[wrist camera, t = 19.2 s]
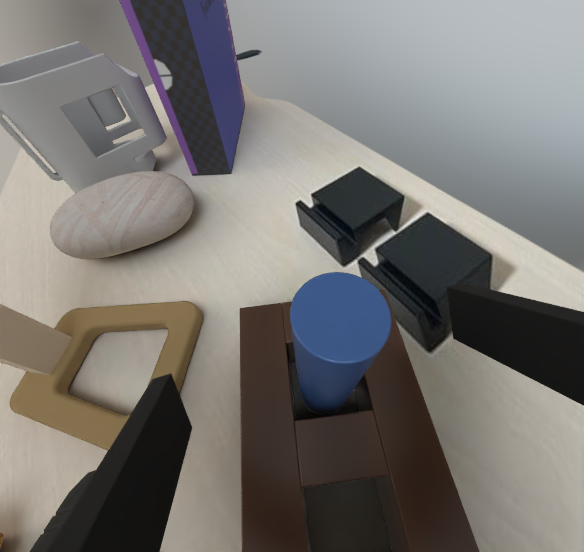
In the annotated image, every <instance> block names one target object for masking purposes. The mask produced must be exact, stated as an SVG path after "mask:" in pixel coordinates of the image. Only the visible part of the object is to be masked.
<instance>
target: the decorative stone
mask: <svg viewBox="0 0 584 552" xmlns="http://www.w3.org/2000/svg"><path fill="white" fill-rule="evenodd" d="M193 208H194V197H193V193H192V191H191V189H190V188H189V186H188V185H187V184H186V183H185V182H184V181H183V180H181V179H180V178H178V177H176V176H174V175H172V174H168V173H164V172H158V171H141V172H134V173H128V174H124V175H120V176H116V177H113V178H109V179H107V180H104V181H101V182H98V183H96V184H94V185H91V186H89V187H87V188H85V189H83V190H81V191H79V192H78V193H76V194H74V195H73V196H72V197H70V198H69V199H68V200H67V201H65V202H64V203H63V204H62V205H61V206H60V207H59V209H58V210H57V211H56V213H55V214H54V216H53V218H52V221H51V224H50V236H51V239H52V241H53V243H54V245H55V246H56V247H57V248H58V249H59V250H60V251H62V252H63V253H65V254H67V255H69V256H72V257H75V258H80V259H98V258H105V257H109V256H114V255H118V254H121V253H124V252H128V251H131V250H134V249H138V248H141V247H144V246H147V245H150V244H152V243H155V242H157V241H160V240H162V239H164V238H166V237H168V236H170V235H172V234H173V233H175V232H176V231H178V230H179V229H180V228H181V227H182V226H183V225H184V224H185V223H186V222H187V221H188V219H189V218H190V216H191V214H192V212H193Z"/></svg>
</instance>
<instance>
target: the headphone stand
mask: <svg viewBox="0 0 584 552" xmlns="http://www.w3.org/2000/svg"><path fill="white" fill-rule="evenodd" d="M201 324H202V314H201V312H200V311H199V309H198V308H197V307H196V306H195V305H194V304H193V303H191V302H187V301H181V302H166V303H151V304H136V305H120V306H105V307H90V308H77V309H73V310H71V311H69V312H68V313H66V314H65V315H64V316H63V317H62V318H61V319H60V321H59V322H58V324H57V326H56V327H55V329H53V328H51V327H49V326H47V325H45V324H42V323H40V322H38V321H36V320H34V319H32V318H29V317H27V316H25V315H23V314H21V313H18V312H16V311H14V310H12V309H10V308H8V307H5V306H3V305H1V304H0V362H1V363H4V364H7V365H10V366H13V367H16V368H19V369H22V370H25V371H27V372H26V374H25V375H24V377H23V378H22V380H21V381H20V383H19V385H18V386H17V388H16V389H15V391H14V392H13V394H12V396H11V399H10V407H11V409H12V410H13V411H14V412H15V413H17V414H20V415H22V416H25V417H27V418H30V419H32V420H35V421H37V422H40V423H42V424H44V425H47V426H49V427H52V428H54V429H57V430H59V431H62V432H64V433H67V434H69V435H72V436H74V437H76V438H79V439H81V440H84V441H86V442H89V443H91V444H94V445H96V446H99V447H101V448H103V449H106V450H108V451H109V449H110V447H111V446H112V444H113V442H114V441H115V439H116V438H117V436H118V434H119V433H120V431H121V429H122V428H123V426H124V425H125V423H126V421H127V420H128V418H129V416H130V415H131V414H130V415H127V416H124V415H122V414H119V413H116V412H113V411H111V410H108V409H105V408H103V407H100V406H97V405H95V404H92V403H89V402H86V401H84V400H81V399H78V398H76V397H73V396H70V395H69V393H68V388H69V385H70V383H71V381H72V380H73V378H74V376H75V374H76V372H77V370H78V369H79V367H80V365H81V363H82V361H83V359H84V358H85V356H86V354H87V352H88V350H89V348H90V347H91V345H92V343H93V341H94V339H95V338H96V337H97V336H98V335H100V334H102V333H105V332H119V331H135V330H150V329H168V336H167V338H166V341H165V344H164V346H163V349H162V351H161V354H160V356H159V359H158V361H157V364H156V366H155V369H154V372H153V374H152V377H151V379H150V382H151V381H152V379H154V378H157V377H160V376H164V375H167V374H170V373H171V374H172V376H173V379H174V382H175V384H176V387H177V390H178V392H179V391H180V388H181V385H182V382H183V379H184V376H185V373H186V370H187V367H188V364H189V361H190V358H191V355H192V352H193V349H194V346H195V343H196V339H197V336H198V333H199V330H200V327H201ZM150 382H149V384H150ZM149 384H148V386H149Z"/></svg>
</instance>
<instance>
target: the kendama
mask: <svg viewBox="0 0 584 552" xmlns="http://www.w3.org/2000/svg"><path fill="white" fill-rule="evenodd" d="M3 536H4V535H3V534H2V533H0V548H1V545H2V541H3Z"/></svg>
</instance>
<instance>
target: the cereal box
mask: <svg viewBox="0 0 584 552" xmlns="http://www.w3.org/2000/svg"><path fill="white" fill-rule="evenodd" d="M119 1H120V3H121V6H122V8H123V10H124V13H125V15H126V18H127V20H128V22H129V25H130V27H131V30H132V32H133V34H134V37H135V39H136V42H137V44H138V46H139V49H140V51H141V53H142V56H143V58H144V61H145V63H146V66H147V68H148V70H149V73H150V75H151V77H152V79H153V82H154V85H155V87H156V89H157V92H158V94H159V97H160V99H161V101H162V104H163V106H164V109H165V111H166V113H167V116H168V118H169V121H170V123H171V125H172V128H173V130H174V132H175V135H176V137H177V140H178V142H179V144H180V147H181V149H182V152H183V154H184V156H185V159H186V161H187V164H188V166H189V168H190V171H191V173H192V176H193V175H215V174H231V172H232V167H233V162H234V157H235V152H236V147H237V142H238V138H239V133H240V128H241V123H242V118H243V113H244V108H245V102H244V96H243V91H242V85H241V80H240V75H239V69H238V64H237V58H236V53H235V47H234V42H233V36H232V31H231V25H230V20H229V15H228V9H227V4H226V0H119Z"/></svg>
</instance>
